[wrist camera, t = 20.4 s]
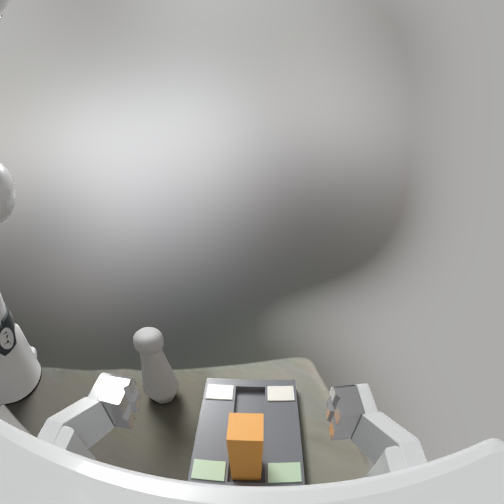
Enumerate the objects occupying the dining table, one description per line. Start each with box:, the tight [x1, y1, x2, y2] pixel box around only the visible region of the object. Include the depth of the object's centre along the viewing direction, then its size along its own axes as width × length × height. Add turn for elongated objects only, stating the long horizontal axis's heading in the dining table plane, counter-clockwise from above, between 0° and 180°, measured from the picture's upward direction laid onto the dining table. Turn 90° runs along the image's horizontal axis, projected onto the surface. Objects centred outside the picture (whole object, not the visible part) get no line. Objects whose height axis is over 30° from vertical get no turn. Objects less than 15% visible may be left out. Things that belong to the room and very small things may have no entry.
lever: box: [226, 412, 264, 481], centre depth 27 cm, size 4×4×11 cm
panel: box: [188, 378, 305, 486], centre depth 35 cm, size 14×20×2 cm
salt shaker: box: [133, 327, 179, 404], centre depth 40 cm, size 6×6×13 cm
